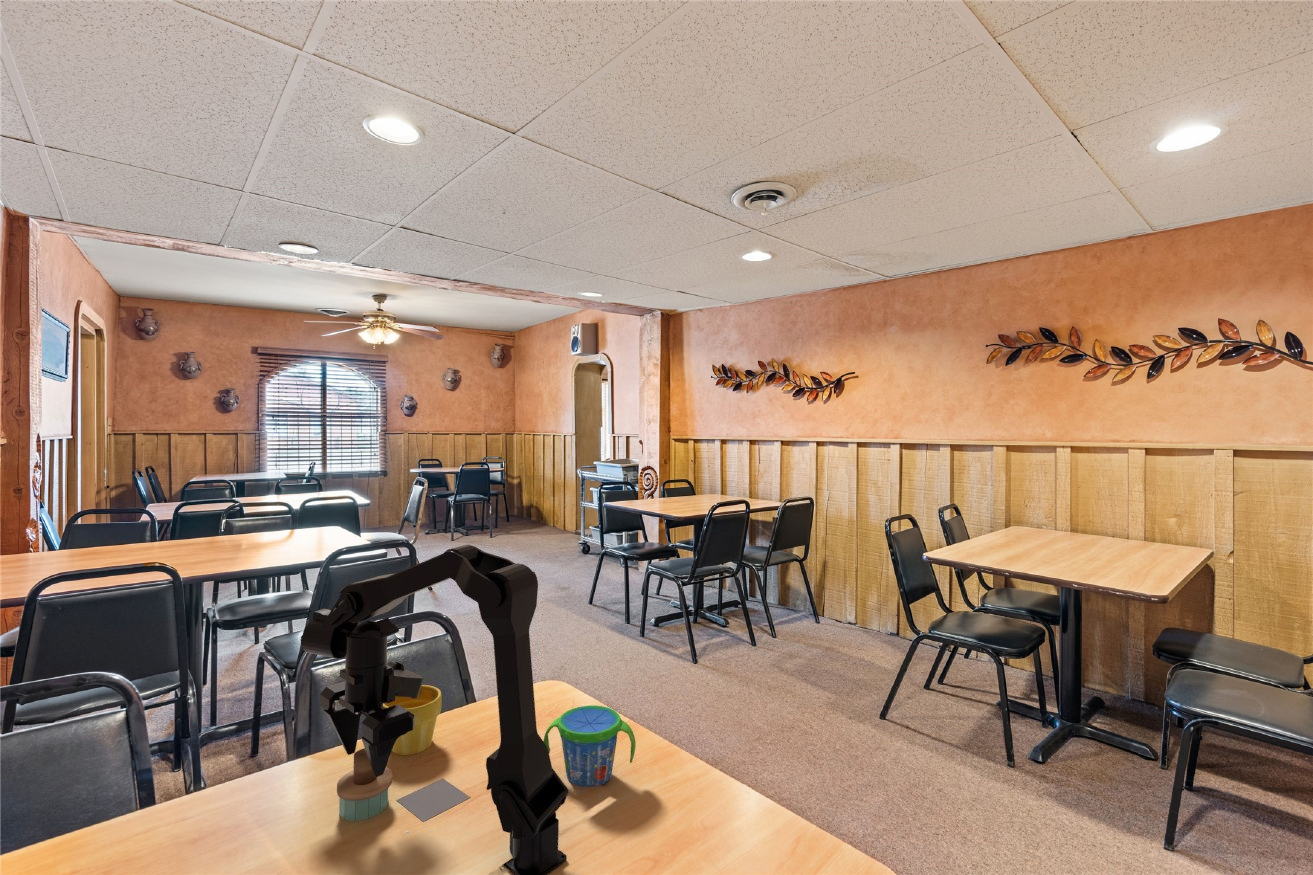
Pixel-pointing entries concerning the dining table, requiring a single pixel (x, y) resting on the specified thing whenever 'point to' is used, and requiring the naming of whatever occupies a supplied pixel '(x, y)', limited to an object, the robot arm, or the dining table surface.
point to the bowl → (363, 807)
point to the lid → (363, 780)
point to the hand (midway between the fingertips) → (364, 764)
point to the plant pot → (418, 720)
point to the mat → (433, 799)
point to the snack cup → (590, 743)
